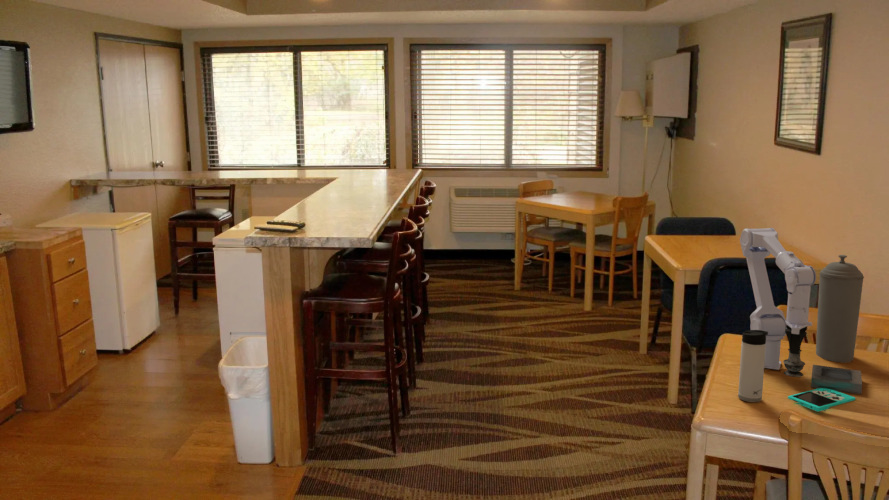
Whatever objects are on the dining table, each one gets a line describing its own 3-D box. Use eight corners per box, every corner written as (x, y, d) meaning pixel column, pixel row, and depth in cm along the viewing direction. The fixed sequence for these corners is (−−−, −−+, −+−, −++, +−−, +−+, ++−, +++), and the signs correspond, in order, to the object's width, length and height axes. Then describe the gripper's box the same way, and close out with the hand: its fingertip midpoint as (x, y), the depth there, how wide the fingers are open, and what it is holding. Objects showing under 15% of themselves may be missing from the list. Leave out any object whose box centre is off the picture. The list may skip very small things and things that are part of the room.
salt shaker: (807, 377, 212) (809, 338, 210) (785, 377, 213) (787, 337, 211) (800, 371, 217) (803, 332, 215) (780, 370, 218) (782, 332, 216)
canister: (864, 365, 232) (874, 258, 226) (826, 366, 232) (835, 259, 226) (840, 353, 245) (849, 251, 239) (804, 354, 244) (812, 252, 238)
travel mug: (761, 404, 201) (766, 335, 198) (736, 399, 205) (740, 331, 201) (764, 397, 206) (769, 329, 203) (740, 392, 210) (744, 326, 206)
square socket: (810, 387, 214) (811, 377, 213) (812, 373, 225) (812, 364, 224) (861, 394, 208) (862, 384, 207) (860, 380, 219) (860, 370, 218)
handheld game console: (856, 401, 204) (856, 397, 203) (818, 412, 197) (819, 407, 196) (824, 390, 213) (824, 386, 212) (786, 400, 206) (787, 395, 205)
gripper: (812, 314, 203) (808, 360, 206) (814, 302, 216) (810, 346, 218) (785, 311, 207) (781, 357, 209) (787, 300, 219) (784, 343, 222)
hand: (794, 351), depth 214 cm, fingers closed on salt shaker, 4 cm apart
